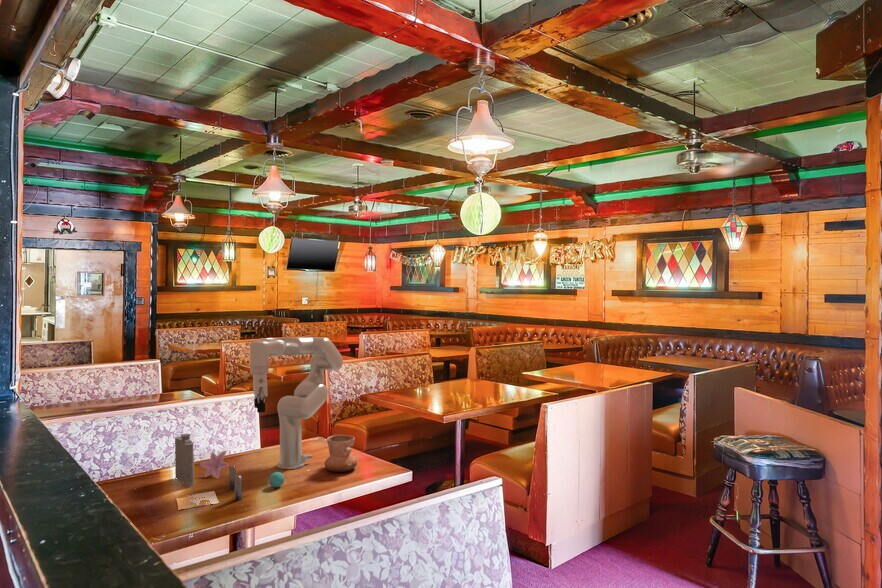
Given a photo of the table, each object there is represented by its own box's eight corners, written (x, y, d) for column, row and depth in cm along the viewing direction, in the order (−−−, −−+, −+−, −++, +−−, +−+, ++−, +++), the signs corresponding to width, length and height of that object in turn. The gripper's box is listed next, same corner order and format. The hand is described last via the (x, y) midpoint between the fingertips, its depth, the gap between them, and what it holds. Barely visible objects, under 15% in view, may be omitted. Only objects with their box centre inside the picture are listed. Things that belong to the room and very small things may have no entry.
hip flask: (174, 478, 242) (173, 431, 242) (184, 476, 245) (183, 429, 245) (186, 488, 230) (186, 439, 230) (197, 485, 233) (196, 437, 233)
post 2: (241, 497, 219) (240, 474, 219) (242, 500, 217) (242, 476, 217) (234, 499, 218) (233, 475, 218) (235, 501, 216) (234, 477, 216)
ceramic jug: (364, 471, 250) (364, 438, 250) (334, 477, 242) (334, 444, 242) (345, 461, 265) (345, 431, 265) (316, 467, 256) (316, 436, 256)
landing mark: (214, 491, 226) (214, 491, 226) (218, 503, 214) (218, 502, 214) (175, 498, 219) (175, 497, 219) (178, 510, 207) (178, 510, 207)
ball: (282, 483, 235) (282, 469, 235) (285, 487, 230) (285, 473, 230) (267, 485, 232) (267, 471, 232) (270, 490, 227) (270, 475, 227)
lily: (198, 476, 248) (193, 460, 243) (221, 459, 256) (217, 444, 251) (214, 489, 242) (210, 473, 237) (238, 472, 250) (234, 456, 245)
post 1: (235, 487, 231) (235, 465, 231) (236, 489, 229) (236, 467, 228) (228, 488, 230) (228, 466, 229) (229, 490, 227) (229, 468, 227)
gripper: (271, 372, 235) (271, 413, 235) (265, 366, 251) (266, 405, 251) (252, 373, 232) (252, 415, 232) (248, 367, 248) (248, 406, 248)
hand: (259, 409), depth 242 cm, fingers open, 9 cm apart
